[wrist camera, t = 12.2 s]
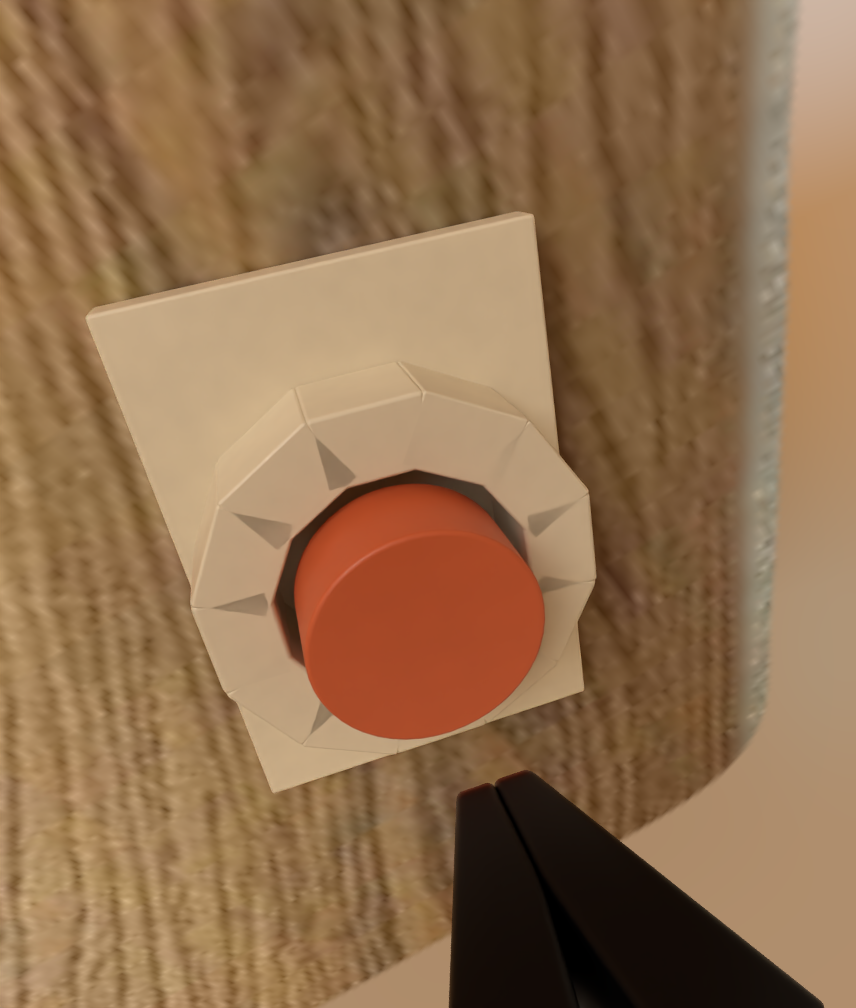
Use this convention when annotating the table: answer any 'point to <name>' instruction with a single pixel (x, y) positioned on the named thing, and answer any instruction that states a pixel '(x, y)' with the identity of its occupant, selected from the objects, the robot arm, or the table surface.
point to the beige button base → (348, 448)
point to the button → (415, 612)
